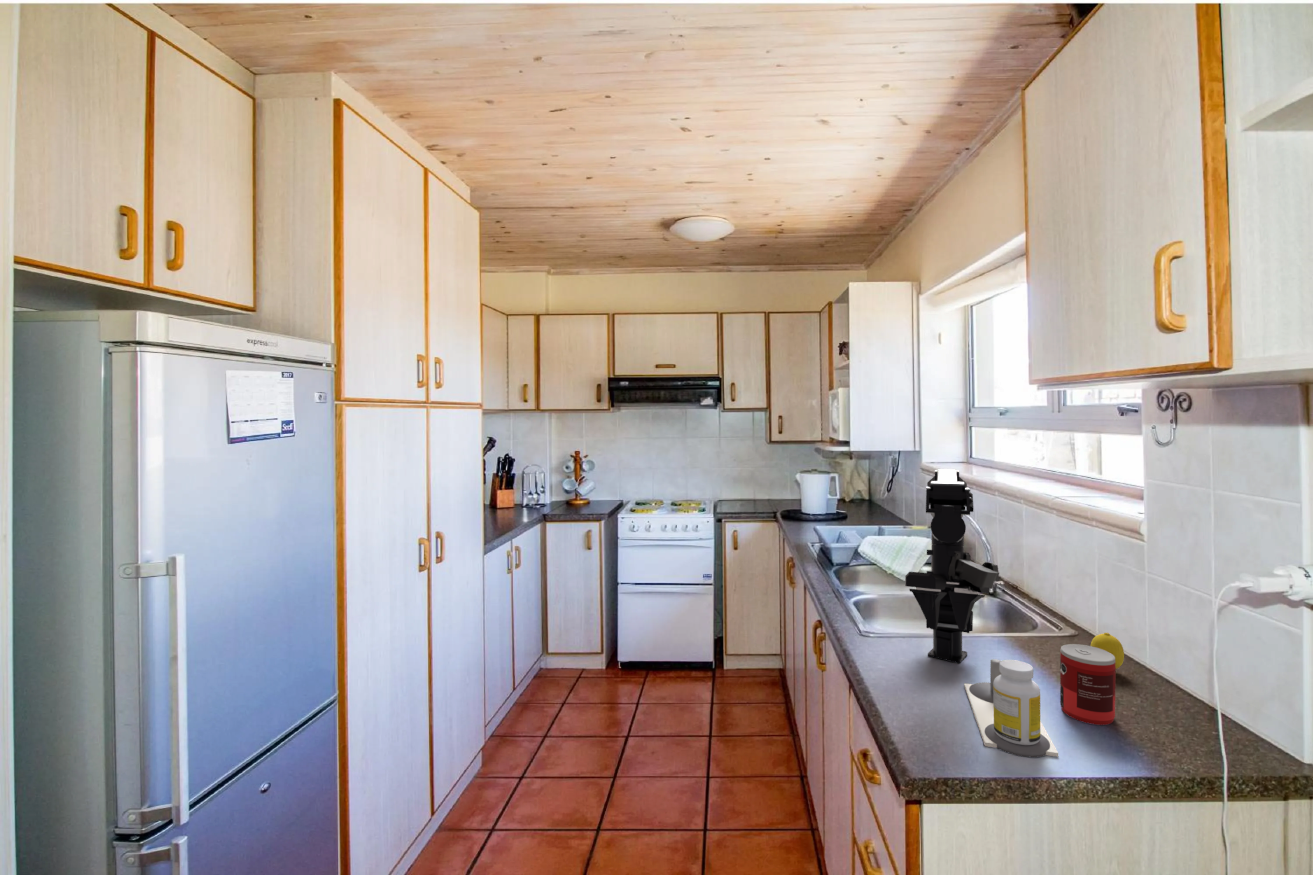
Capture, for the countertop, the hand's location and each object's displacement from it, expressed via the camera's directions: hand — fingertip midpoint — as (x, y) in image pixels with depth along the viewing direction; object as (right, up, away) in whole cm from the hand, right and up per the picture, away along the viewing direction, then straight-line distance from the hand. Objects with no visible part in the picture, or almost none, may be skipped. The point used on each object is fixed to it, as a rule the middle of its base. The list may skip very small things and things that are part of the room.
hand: (948, 629), depth 113 cm
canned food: (+20, -12, -9) cm, 25 cm away
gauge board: (+6, -12, -9) cm, 16 cm away
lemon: (+36, -11, +8) cm, 39 cm away
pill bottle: (+3, -12, -16) cm, 21 cm away
